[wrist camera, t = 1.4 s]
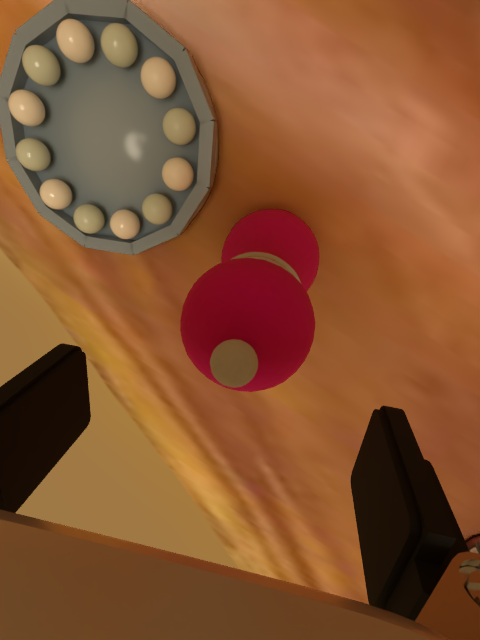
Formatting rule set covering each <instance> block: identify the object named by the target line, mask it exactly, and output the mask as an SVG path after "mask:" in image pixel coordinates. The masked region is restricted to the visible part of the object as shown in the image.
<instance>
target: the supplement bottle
mask: <svg viewBox="0 0 480 640" xmlns="http://www.w3.org/2000/svg"><path fill="white" fill-rule="evenodd" d="M466 544H467V547H468V549H469V551H470V552H472V553H478V554H480V536H477V537H474V538H472V539H470V540H469V541H467V542H466Z"/></svg>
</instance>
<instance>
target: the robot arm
mask: <svg viewBox="0 0 480 640" xmlns="http://www.w3.org/2000/svg"><path fill="white" fill-rule="evenodd" d="M90 417H91V414H90V402H89V391H88V377H87V365H86V355H85V353H84V352H82V350H81V348H80V347H78V346H73V345H67V344H60V345H58V346H56V347H55V348H54V349H52V350H51V351H49V352H48V353H47V354H45V355H44V356H42V357H41V358H40V359H38V360H37V361H36V362H34V363H33V364H32V365H30V366H29V367H27V368H26V369H24V370H23V371H22V372H21V373H19V374H18V375H16V376H15V377H13V378H12V379H11V380H9V381H8V382H7V383H5V384H4V385H2V386H1V387H0V640H480V554H478V553H472V552H470V551H469V549H468V547H467V544H466V542H465V540H464V537H463V535H462V533H461V531H460V528H459V526H458V524H457V521H456V519H455V517H454V514H453V512H452V510H451V507H450V505H449V503H448V501H447V498H446V496H445V494H444V491H443V489H442V487H441V484H440V482H439V480H438V478H437V475H436V473H435V471H434V468H433V466H432V465H431V463H430V462H429V461H428V460H424V458H423V456H422V453H421V451H420V449H419V446H418V444H417V441H416V439H415V436H414V434H413V432H412V429H411V427H410V424H409V422H408V420H407V417H406V415H405V412H404V411H403V410H402V409H398V408H393V407H388V406H382V407H381V408H380V410H378V409H375V410H374V411H373V413H372V416H371V419H370V422H369V425H368V428H367V431H366V433H365V436H364V439H363V442H362V445H361V448H360V451H359V454H358V456H357V459H356V462H355V465H354V468H353V471H352V474H351V489H352V495H353V502H354V509H355V515H356V522H357V529H358V535H359V542H360V549H361V555H362V562H363V568H364V575H365V582H366V588H367V595H368V601H369V604H370V605H368V604H365V603H362V602H359V601H355V600H351V599H348V598H344V597H341V596H337V595H333V594H330V593H326V592H323V591H319V590H315V589H312V588H308V587H305V586H301V585H297V584H293V583H290V582H286V581H282V580H278V579H274V578H270V577H266V576H262V575H259V574H255V573H251V572H247V571H243V570H239V569H235V568H231V567H228V566H224V565H220V564H216V563H212V562H208V561H204V560H200V559H196V558H193V557H189V556H184V555H180V554H176V553H173V552H169V551H165V550H161V549H157V548H153V547H149V546H145V545H141V544H137V543H133V542H129V541H125V540H121V539H117V538H113V537H109V536H105V535H101V534H97V533H93V532H89V531H85V530H81V529H77V528H73V527H69V526H65V525H61V524H57V523H52V522H49V521H44V520H40V519H36V518H32V517H28V516H24V515H20V514H16V513H15V512H16V511H17V510H18V509H19V508H20V507H21V505H22V504H23V503H24V502H25V501H26V500H27V498H28V497H29V496H30V495H31V494H32V492H33V491H34V490H35V489H36V488H37V486H38V485H39V484H40V483H41V482H42V480H43V479H44V478H45V477H46V475H47V474H48V473H49V472H50V471H51V470H52V468H53V467H54V466H55V465H56V464H57V462H58V461H59V460H60V459H61V458H62V456H63V455H64V454H65V453H66V452H67V450H68V449H69V448H70V447H71V446H72V444H73V443H74V442H75V441H76V440H77V438H78V437H79V436H80V435H81V433H82V432H83V431H84V430H85V428H86V427H87V426H88V424H89V422H90Z"/></svg>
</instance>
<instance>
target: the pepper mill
mask: <svg viewBox="0 0 480 640" xmlns="http://www.w3.org/2000/svg"><path fill="white" fill-rule="evenodd" d="M221 260H222V263H220V264H218V265H216V266H214V267H213V268H211V269H210V270H208V271H207V272H206V273H204V274H203V275H202V276H201V277H200V278H199V279H198V280H197V281H196V282H195V283H194V285H193V287H192V288H191V290H190V291H189V293H188V295H187V298H186V300H185V303H184V305H183V310H182V315H181V336H182V341H183V344H184V347H185V350H186V352H187V355H188V356H189V358H190V359H191V361H192V362H193V364H194V365H195V366H196V367H197V369H198V370H199V371H200V372H201V373H203V374H204V375H205V376H206V377H207V378H208V379H210V380H212V381H213V382H215V383H217V384H219V385H221V386H223V387H226V388H229V389H233V390H237V391H248V392H253V391H259V390H265V389H268V388H271V387H274V386H276V385H278V384H280V383H282V382H284V381H285V380H286V379H288V378H289V377H290V376H291V375H293V374H294V373H295V372H296V371H297V370H298V368H299V367H300V366H301V365H302V363H303V362H304V361H305V359H306V357H307V355H308V353H309V351H310V348H311V345H312V342H313V338H314V330H315V318H314V312H313V308H312V305H311V302H310V299H309V296H308V294H307V290H308V289H309V288H310V286H311V285H312V283H313V281H314V279H315V277H316V274H317V270H318V265H319V248H318V244H317V241H316V238H315V236H314V234H313V232H312V231H311V229H310V228H309V227H308V226H307V225H306V224H305V222H304V221H302V220H301V219H300V218H298V217H297V216H296V215H294V214H292V213H290V212H288V211H285V210H279V209H265V210H259V211H256V212H253V213H251V214H249V215H247V216H245V217H244V218H242V219H241V220H240V221H239V222H238V223H237V224H236V225H235V226H234V227H233V228H232V230H231V231H230V233H229V235H228V237H227V239H226V241H225V243H224V247H223V250H222V258H221Z"/></svg>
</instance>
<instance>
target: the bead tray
mask: <svg viewBox="0 0 480 640" xmlns="http://www.w3.org/2000/svg"><path fill="white" fill-rule="evenodd" d="M15 32H16V33H13V37H12V40H11V43H10V47H9V50H8V54H7V57H6V60H5V64H4V67H3V71H2V74H1V77H0V125H1V131H2V137H3V143H4V149H5V155H6V159H8V161H7V162H8V164H9V165H10V167H11V169H12V170H13V172H14V174H15V175H16V177H17V179H18V180H19V182H20V184H21V185H22V187H23V189H24V190H25V192H26V194H27V195H28V197H29V198H30V200H31V202H32V203H33V205H34V207H35V208H36V210H37V212H38V213H40V215H41V216H42V217H44V218H45V219H46V220H48V221H49V222H50V223H52V224H53V225H55V226H56V227H57V228H59V229H60V230H61V231H63V232H64V233H65V234H67V235H68V236H70V237H71V238H72V239H74V240H75V241H76V242H78V243H79V244H80V245H82V246H83V247H84V246H85V247H86V248H92V249H98V250H104V251H111V252H117V253H123V254H129V255H135V254H138V253H140V252H142V251H145V250H147V249H149V248H151V247H154V246H156V245H158V244H161V243H163V242H165V241H167V240H170V239H172V238H174V237H177V236H179V235H180V234H182V233H183V232H184V231H185V229H186V228H187V226H188V225H189V223H190V222H191V221H192V220H193V219H194V218H195V217H196V216H197V214H198V213H199V212H200V210H201V209H202V207H203V205H204V204H205V202H206V200H207V198H208V196H209V194H210V191H211V189H212V186H213V183H214V179H215V175H216V172H217V165H218V158H219V134H218V123H217V118H216V114H215V109H214V105H213V102H212V99H211V96H210V93H209V91H208V88H207V86H206V84H205V82H204V80H203V78H202V75H201V74H200V72H199V70H198V69H197V67H196V65H195V63H194V60H193V57H192V55H191V54H190V52H189V51H188V50H187V49H186V48H185V47H184V46H183V45H181V44H180V43H179V42H178V41H177V40H176V39H174V38H173V37H172V36H171V35H170V34H169V33H167V32H166V31H165V30H164V29H163V28H162V27H160V26H159V25H158V24H157V23H156V22H155V21H153V20H152V19H151V18H150V17H149V16H148V15H146V14H145V13H144V12H143V11H142V10H141V9H139V8H138V7H137V6H136V5H135V4H134V3H132V2H131V1H130V0H54V1H52V2H51V3H50V4H49V5H47V6H46V7H45V8H43V9H42V10H41V11H40V12H38V13H37V14H36V15H34V16H33V17H32V18H31V19H29V20H28V21H27V22H26V23H24V24H23V25H22V26H20V27H19V28H18V29H17V30H15Z"/></svg>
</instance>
